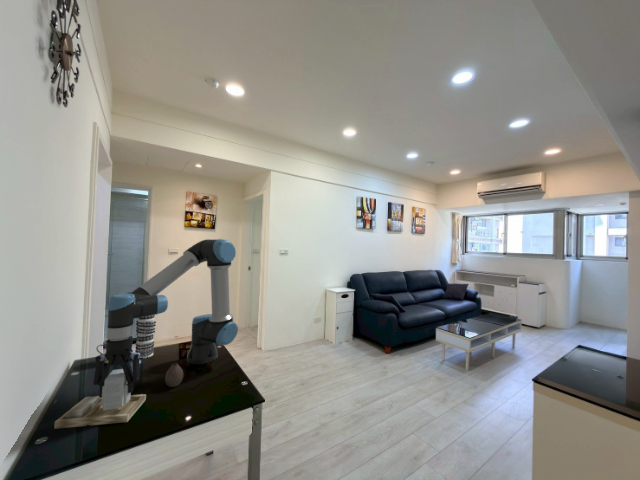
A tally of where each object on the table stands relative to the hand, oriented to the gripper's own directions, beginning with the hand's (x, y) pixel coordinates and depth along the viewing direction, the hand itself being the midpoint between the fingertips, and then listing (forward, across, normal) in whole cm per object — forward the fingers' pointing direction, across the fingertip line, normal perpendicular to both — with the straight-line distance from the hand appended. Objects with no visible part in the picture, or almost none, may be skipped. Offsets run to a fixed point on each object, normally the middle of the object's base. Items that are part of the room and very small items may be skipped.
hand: (116, 402), depth 91 cm
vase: (+4, -13, -17) cm, 22 cm away
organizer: (+3, +4, 0) cm, 5 cm away
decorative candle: (+4, +14, -52) cm, 54 cm away
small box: (+1, 0, 0) cm, 1 cm away
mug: (+4, +27, -46) cm, 53 cm away
